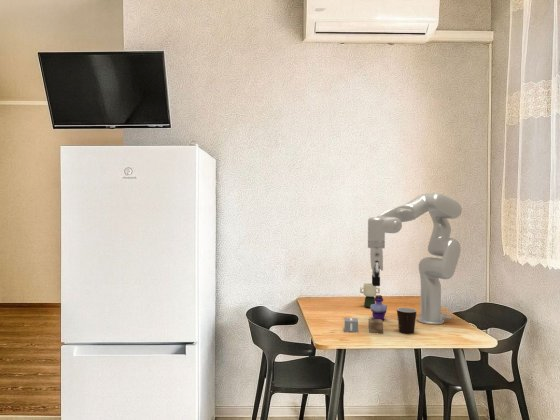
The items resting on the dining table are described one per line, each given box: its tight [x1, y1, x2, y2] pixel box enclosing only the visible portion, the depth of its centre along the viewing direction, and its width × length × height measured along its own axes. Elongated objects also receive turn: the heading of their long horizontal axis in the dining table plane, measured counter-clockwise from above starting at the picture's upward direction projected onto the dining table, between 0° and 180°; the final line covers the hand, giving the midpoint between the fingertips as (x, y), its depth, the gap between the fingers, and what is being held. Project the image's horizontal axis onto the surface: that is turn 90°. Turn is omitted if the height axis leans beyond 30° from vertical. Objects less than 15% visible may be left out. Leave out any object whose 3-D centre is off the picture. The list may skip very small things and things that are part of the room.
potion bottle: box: [370, 294, 388, 322], centre depth 224 cm, size 9×9×12 cm
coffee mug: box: [396, 307, 418, 335], centre depth 200 cm, size 12×9×10 cm
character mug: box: [359, 282, 381, 309], centre depth 250 cm, size 11×7×13 cm, turn 88°
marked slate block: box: [344, 317, 359, 333], centre depth 204 cm, size 6×6×5 cm
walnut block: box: [368, 318, 384, 335], centre depth 202 cm, size 6×6×5 cm
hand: (375, 284), depth 202 cm, fingers open, 4 cm apart
